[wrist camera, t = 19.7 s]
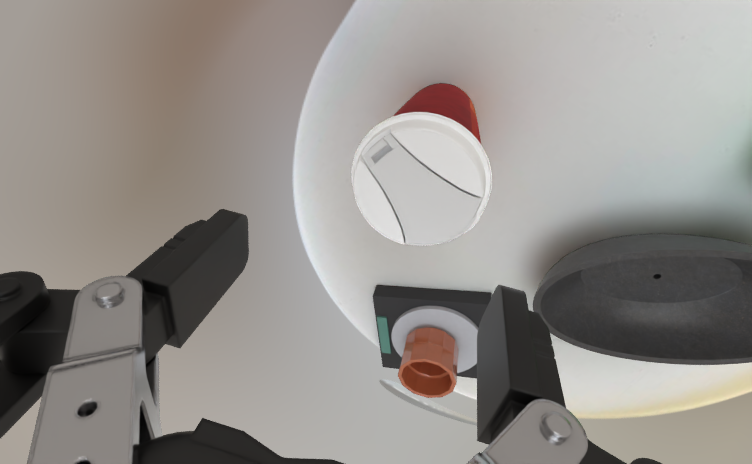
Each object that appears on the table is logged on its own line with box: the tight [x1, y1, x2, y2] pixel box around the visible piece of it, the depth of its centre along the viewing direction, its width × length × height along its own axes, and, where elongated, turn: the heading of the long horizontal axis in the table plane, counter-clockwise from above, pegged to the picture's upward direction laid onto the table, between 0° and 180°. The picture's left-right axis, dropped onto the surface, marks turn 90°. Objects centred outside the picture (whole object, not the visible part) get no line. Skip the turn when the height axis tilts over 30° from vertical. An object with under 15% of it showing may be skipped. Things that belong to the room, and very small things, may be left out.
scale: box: [373, 285, 491, 378], centre depth 46 cm, size 13×12×3 cm
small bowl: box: [398, 327, 459, 398], centre depth 43 cm, size 6×6×5 cm
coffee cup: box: [351, 83, 492, 246], centre depth 28 cm, size 8×8×15 cm
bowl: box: [533, 234, 752, 365], centre depth 34 cm, size 12×22×6 cm, turn 97°
